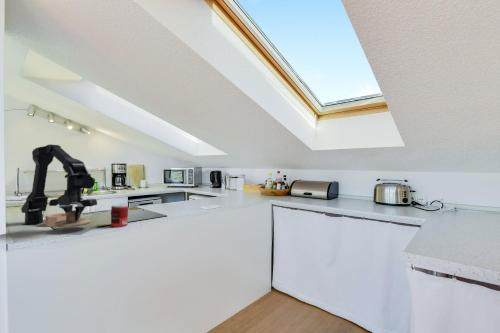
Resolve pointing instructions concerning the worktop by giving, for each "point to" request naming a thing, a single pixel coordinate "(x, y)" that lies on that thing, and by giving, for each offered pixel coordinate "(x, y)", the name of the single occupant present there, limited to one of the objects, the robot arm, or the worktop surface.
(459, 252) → the worktop surface
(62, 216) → the bowl
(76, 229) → the mat
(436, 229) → the worktop surface
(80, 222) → the lid
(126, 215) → the canned food
